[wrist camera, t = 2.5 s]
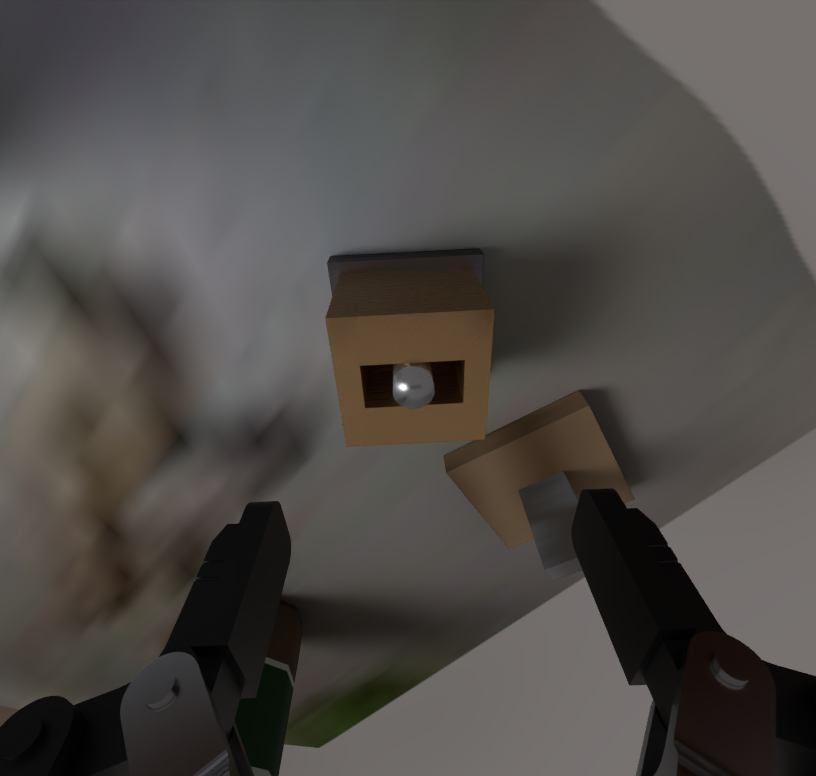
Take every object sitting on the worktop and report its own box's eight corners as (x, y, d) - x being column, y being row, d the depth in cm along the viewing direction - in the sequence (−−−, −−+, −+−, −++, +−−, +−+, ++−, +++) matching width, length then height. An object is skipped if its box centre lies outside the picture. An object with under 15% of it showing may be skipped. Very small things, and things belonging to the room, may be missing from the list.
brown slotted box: (354, 384, 22) (346, 447, 18) (340, 273, 19) (325, 318, 15) (467, 378, 22) (485, 439, 18) (471, 266, 19) (494, 309, 15)
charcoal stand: (348, 382, 23) (335, 464, 18) (330, 256, 20) (306, 311, 14) (473, 376, 23) (498, 455, 18) (479, 248, 20) (513, 300, 14)
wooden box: (504, 531, 31) (530, 628, 25) (443, 455, 27) (458, 552, 21) (624, 482, 28) (684, 577, 23) (578, 390, 24) (638, 478, 18)
